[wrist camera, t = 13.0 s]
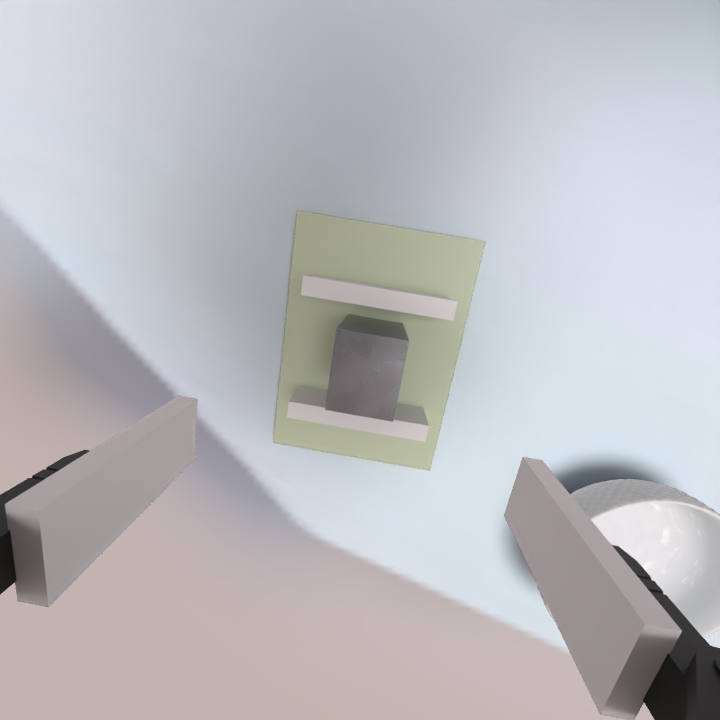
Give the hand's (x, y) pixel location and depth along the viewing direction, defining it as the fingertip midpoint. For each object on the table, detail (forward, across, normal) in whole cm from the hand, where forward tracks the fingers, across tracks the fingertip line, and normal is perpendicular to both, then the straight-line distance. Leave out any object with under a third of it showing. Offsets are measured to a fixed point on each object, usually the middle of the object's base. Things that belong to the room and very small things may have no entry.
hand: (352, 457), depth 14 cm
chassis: (+20, 0, 0) cm, 20 cm away
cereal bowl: (+20, +27, -15) cm, 37 cm away
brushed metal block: (+19, 0, 0) cm, 19 cm away
